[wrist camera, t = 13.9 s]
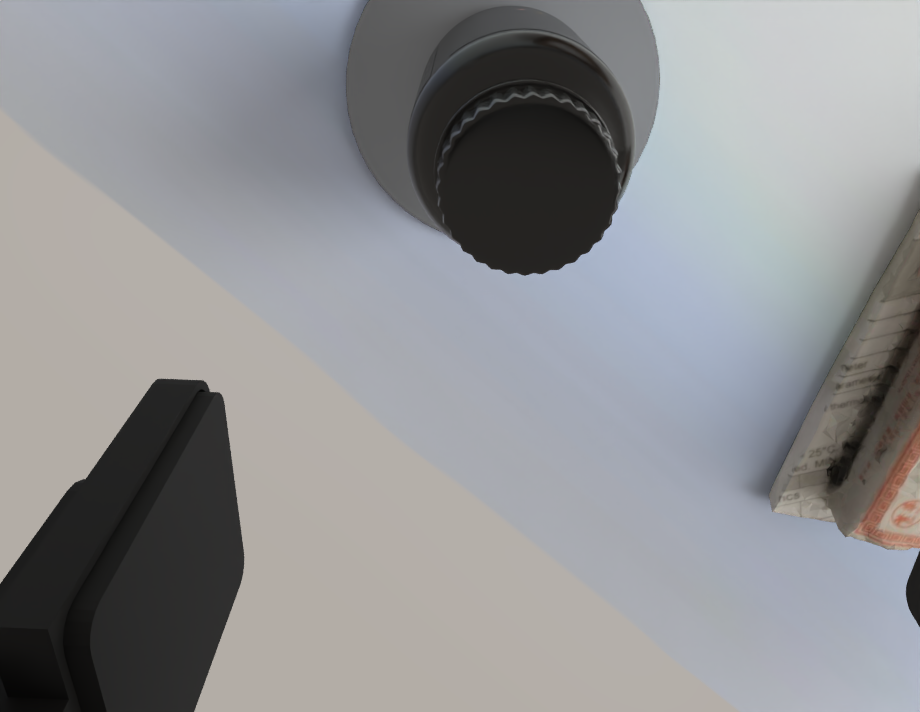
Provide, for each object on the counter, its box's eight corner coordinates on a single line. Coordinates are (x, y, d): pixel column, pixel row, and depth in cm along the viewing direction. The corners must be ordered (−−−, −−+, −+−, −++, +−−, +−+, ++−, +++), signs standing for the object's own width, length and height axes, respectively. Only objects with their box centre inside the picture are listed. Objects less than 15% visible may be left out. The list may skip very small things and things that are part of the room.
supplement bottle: (566, 202, 33) (607, 340, 23) (403, 160, 32) (367, 282, 22) (624, 28, 30) (703, 95, 19) (445, -23, 29) (426, 17, 19)
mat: (680, -76, 29) (683, -76, 28) (635, 244, 34) (636, 248, 34) (341, -87, 29) (339, -87, 28) (353, 234, 34) (351, 238, 34)
